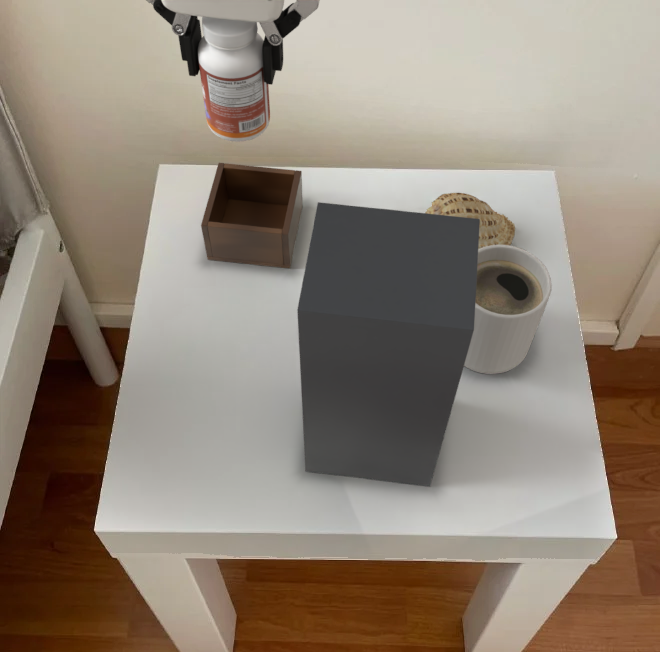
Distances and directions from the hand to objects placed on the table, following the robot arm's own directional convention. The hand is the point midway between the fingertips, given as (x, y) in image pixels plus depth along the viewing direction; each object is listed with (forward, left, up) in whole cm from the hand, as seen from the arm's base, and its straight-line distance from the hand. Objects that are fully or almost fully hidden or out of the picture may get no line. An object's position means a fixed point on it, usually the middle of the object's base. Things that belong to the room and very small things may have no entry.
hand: (233, 68), depth 73 cm
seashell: (+24, +3, -22) cm, 33 cm away
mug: (+26, -10, -22) cm, 36 cm away
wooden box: (0, 0, -22) cm, 22 cm away
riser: (+16, -24, -22) cm, 36 cm away
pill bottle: (0, 0, -6) cm, 6 cm away
